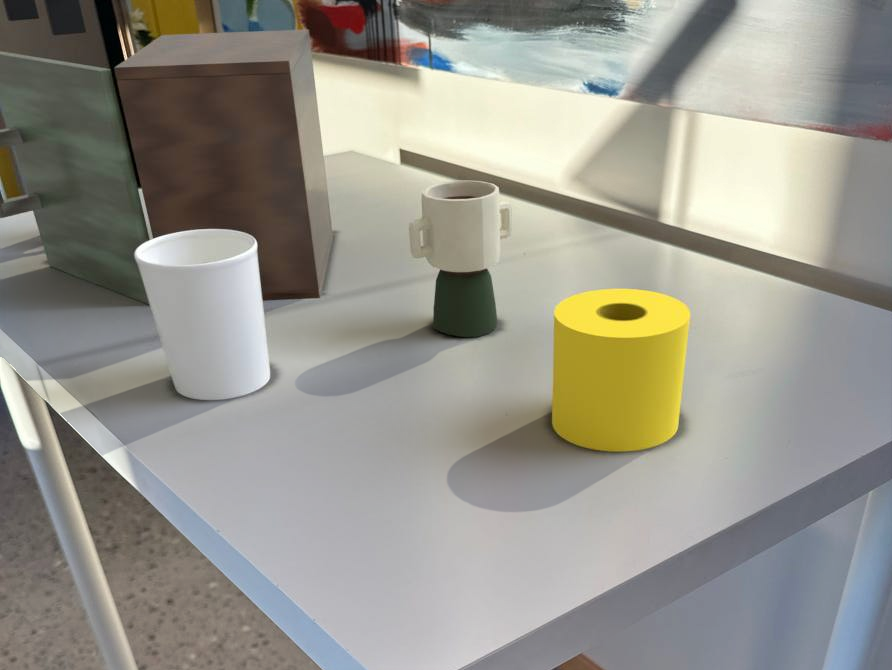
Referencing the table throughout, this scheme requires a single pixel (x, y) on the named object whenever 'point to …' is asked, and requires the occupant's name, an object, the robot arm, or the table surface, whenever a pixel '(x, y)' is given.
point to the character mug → (462, 252)
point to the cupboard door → (74, 169)
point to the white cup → (208, 310)
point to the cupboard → (234, 147)
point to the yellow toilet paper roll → (618, 368)
